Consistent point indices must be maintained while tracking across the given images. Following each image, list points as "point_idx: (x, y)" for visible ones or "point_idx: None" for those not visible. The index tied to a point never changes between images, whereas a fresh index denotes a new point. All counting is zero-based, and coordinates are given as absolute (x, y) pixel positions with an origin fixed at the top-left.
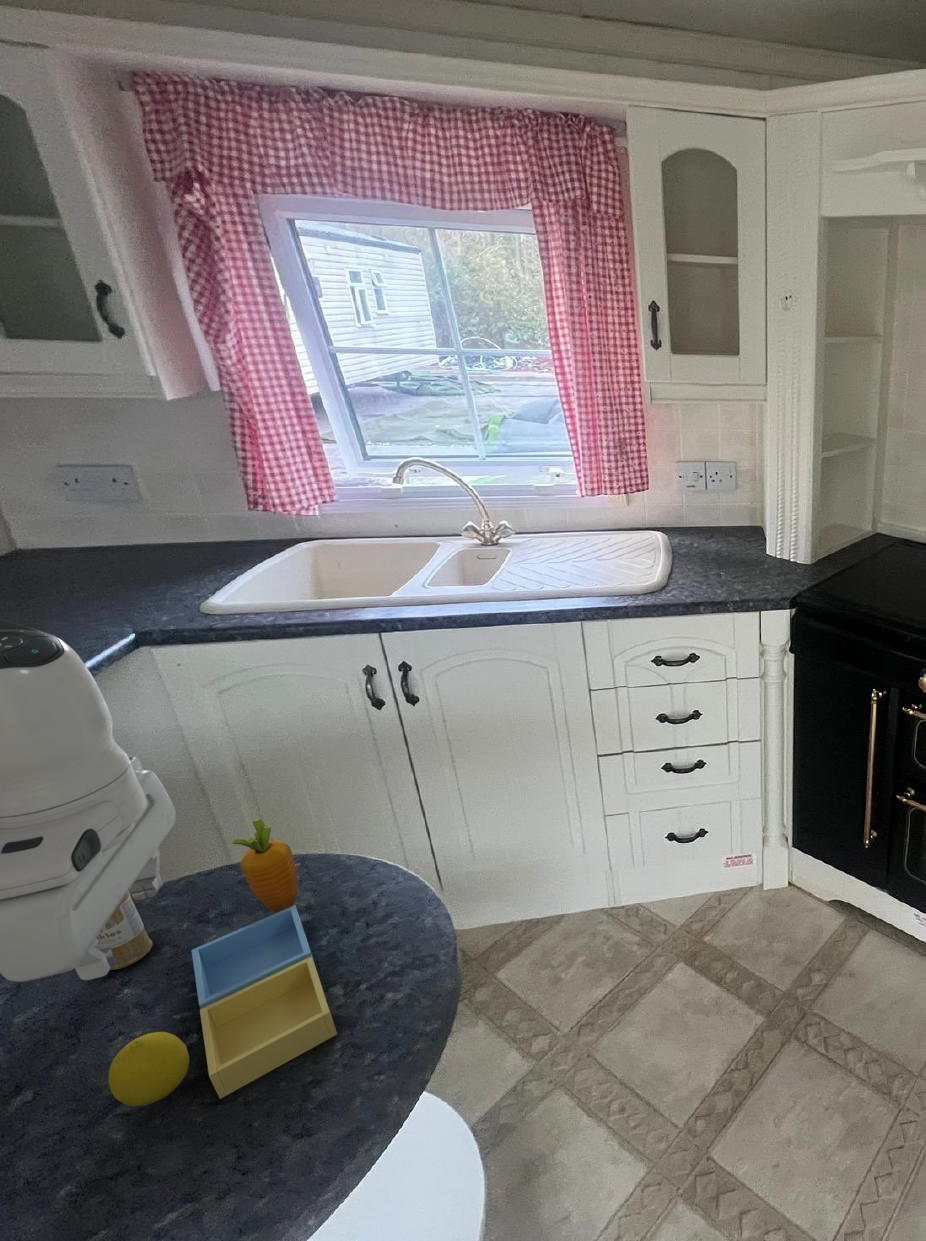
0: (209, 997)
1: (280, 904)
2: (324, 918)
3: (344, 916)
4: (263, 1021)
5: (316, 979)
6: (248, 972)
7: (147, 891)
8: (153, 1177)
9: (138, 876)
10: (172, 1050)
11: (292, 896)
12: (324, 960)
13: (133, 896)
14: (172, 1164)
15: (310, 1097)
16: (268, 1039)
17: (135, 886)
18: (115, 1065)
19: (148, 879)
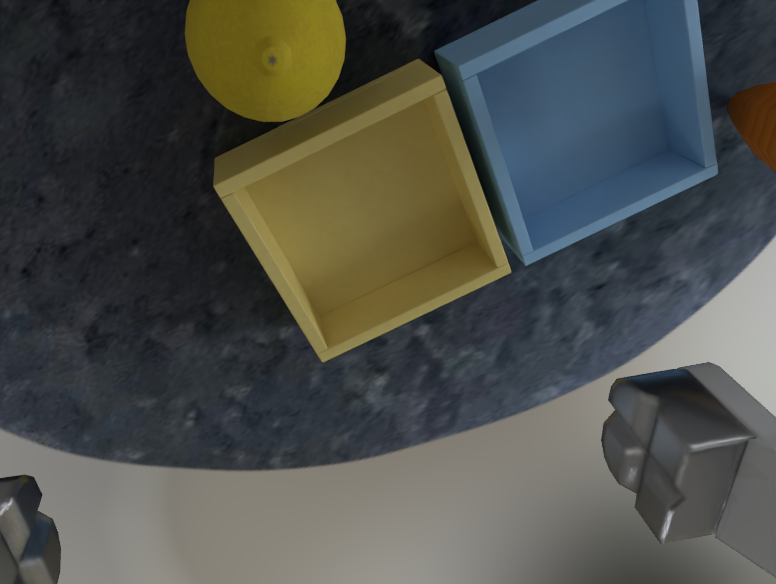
0: (476, 82)
1: (744, 131)
2: None
3: (651, 232)
4: (394, 180)
5: (430, 307)
6: (568, 88)
7: (636, 457)
8: (42, 98)
9: (767, 483)
10: (265, 121)
11: (756, 154)
12: None
13: (638, 392)
14: (68, 125)
15: (174, 325)
16: (337, 210)
17: (676, 479)
18: (229, 5)
19: (708, 513)
